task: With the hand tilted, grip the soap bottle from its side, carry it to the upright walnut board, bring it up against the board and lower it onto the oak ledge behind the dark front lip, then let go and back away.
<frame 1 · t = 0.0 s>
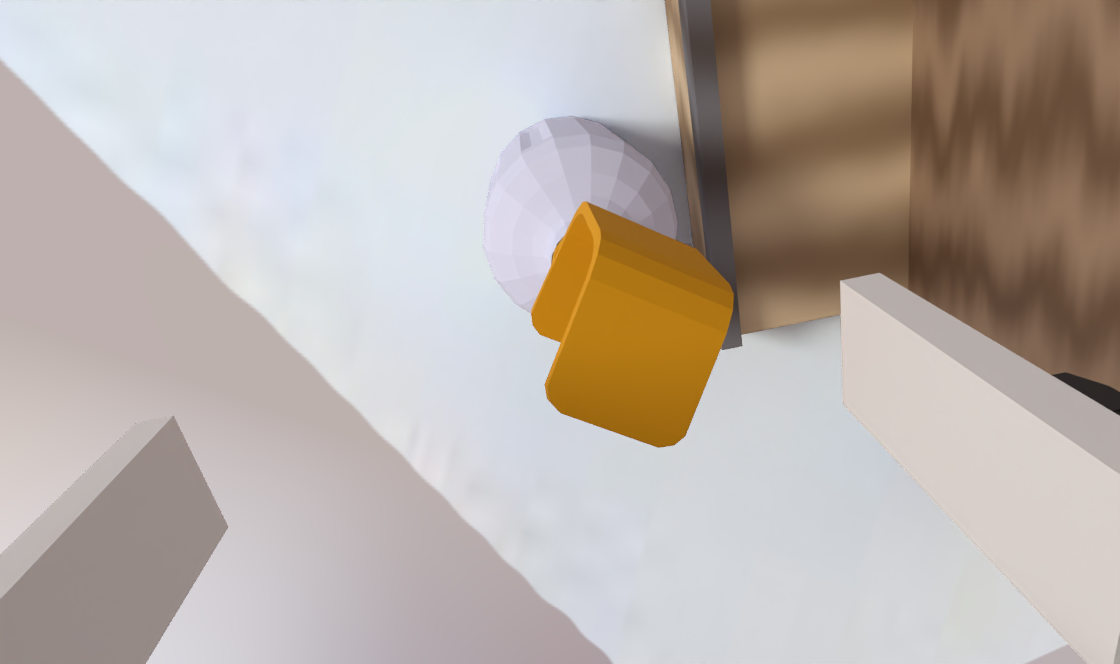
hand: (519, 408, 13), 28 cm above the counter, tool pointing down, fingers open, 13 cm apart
soap bottle: (565, 194, 40), on the counter
cleat shelf: (795, 129, 39), on the counter
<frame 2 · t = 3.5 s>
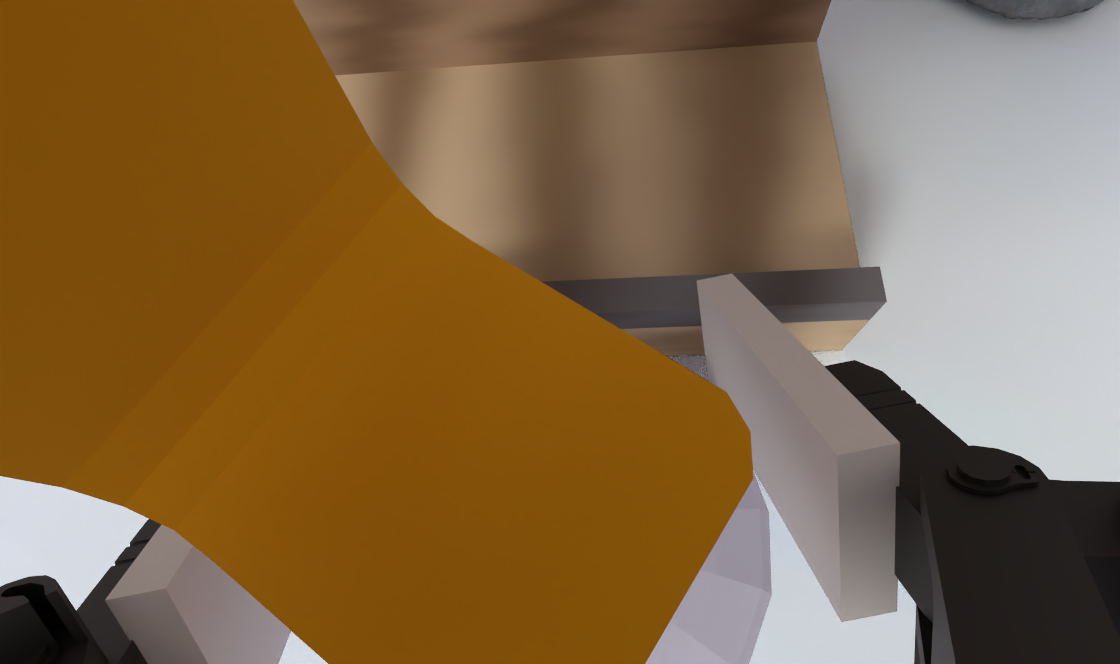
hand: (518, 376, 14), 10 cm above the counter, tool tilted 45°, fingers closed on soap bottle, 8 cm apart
soap bottle: (578, 557, 23), on the counter, touching gripper
cleat shelf: (549, 209, 28), on the counter
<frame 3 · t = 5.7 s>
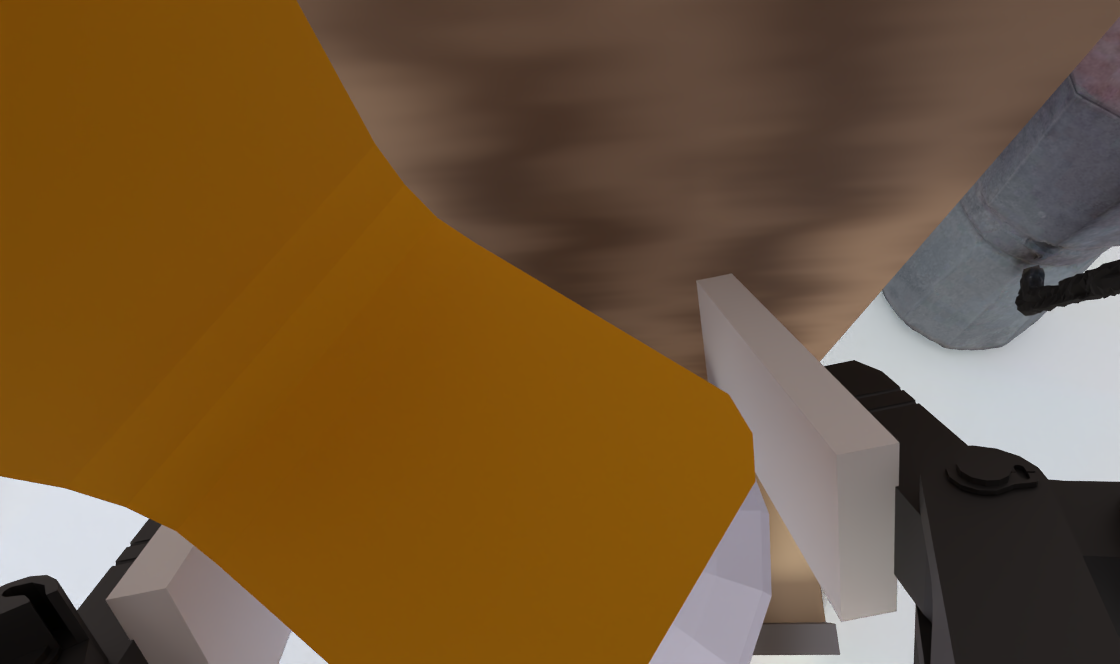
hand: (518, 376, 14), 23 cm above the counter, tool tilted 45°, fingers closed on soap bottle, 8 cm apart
moka pot: (955, 289, 38), on the counter
soap bottle: (578, 558, 23), point 12 cm above the counter, touching gripper
cleat shelf: (584, 509, 36), on the counter
when the fingers open (15 cm above the counter, at t = 8.2 s): soap bottle drops 1 cm, resting on cleat shelf.
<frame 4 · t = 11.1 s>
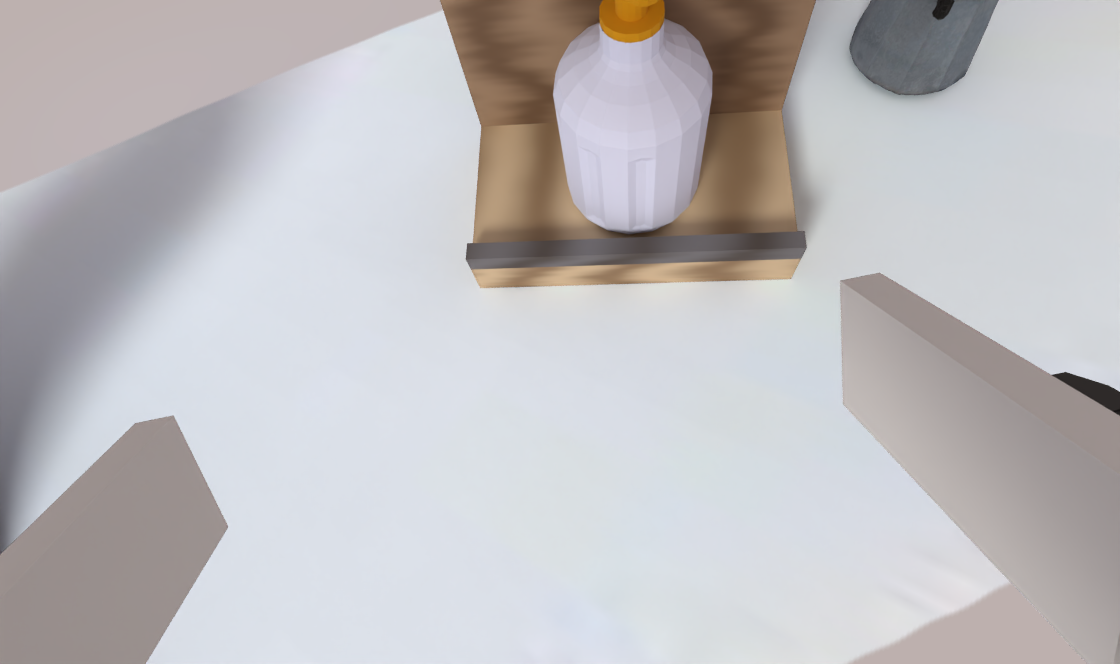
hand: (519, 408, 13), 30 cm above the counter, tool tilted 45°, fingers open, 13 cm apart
moka pot: (907, 60, 52), on the counter
soap bottle: (632, 182, 47), point 3 cm above the counter, touching cleat shelf
cleat shelf: (629, 202, 49), on the counter
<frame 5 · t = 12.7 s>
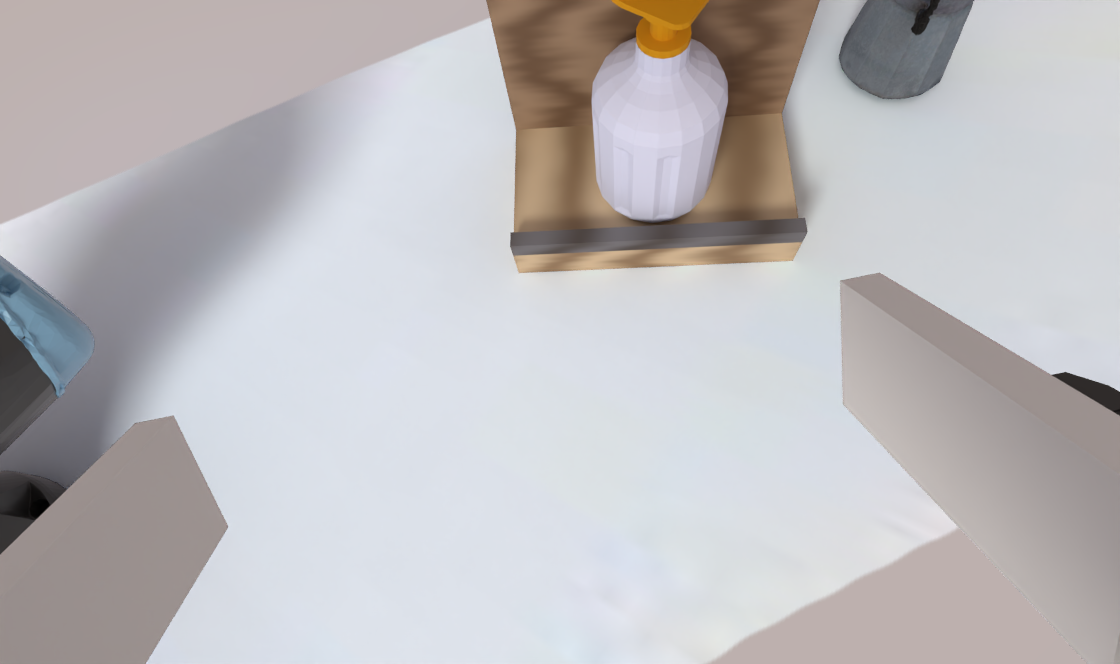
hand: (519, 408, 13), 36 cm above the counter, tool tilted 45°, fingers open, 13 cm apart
moka pot: (890, 68, 59), on the counter
soap bottle: (652, 177, 53), point 3 cm above the counter, touching cleat shelf
cleat shelf: (648, 195, 56), on the counter
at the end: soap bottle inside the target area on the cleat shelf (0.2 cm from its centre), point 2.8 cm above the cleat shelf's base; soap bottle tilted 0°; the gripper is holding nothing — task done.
